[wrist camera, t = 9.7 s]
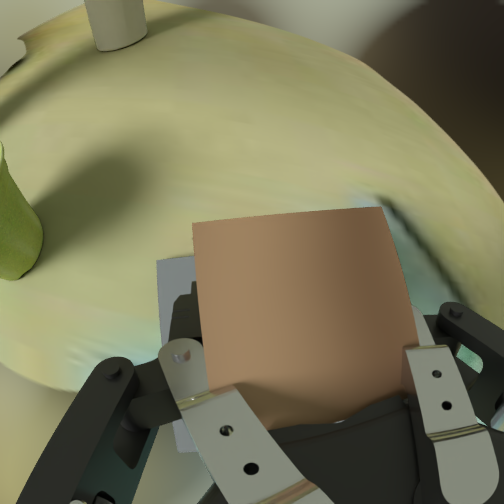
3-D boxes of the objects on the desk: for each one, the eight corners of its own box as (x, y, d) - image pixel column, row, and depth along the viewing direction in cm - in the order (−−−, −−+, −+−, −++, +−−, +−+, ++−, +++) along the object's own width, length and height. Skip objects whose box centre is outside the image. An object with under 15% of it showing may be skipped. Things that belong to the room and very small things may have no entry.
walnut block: (228, 395, 14) (218, 443, 5) (216, 307, 16) (192, 223, 7) (318, 380, 15) (426, 389, 5) (303, 296, 17) (381, 206, 7)
